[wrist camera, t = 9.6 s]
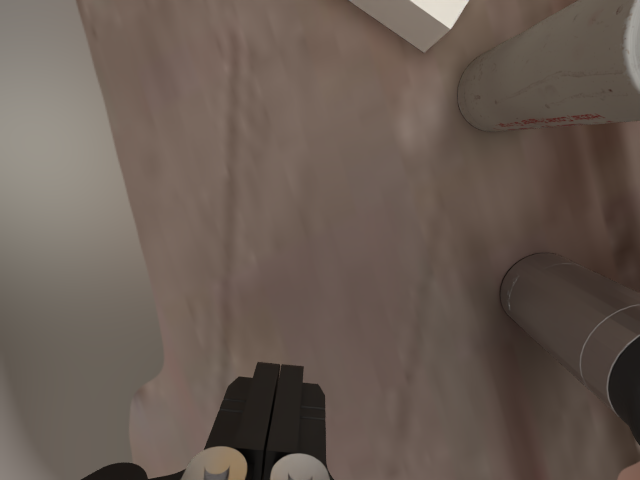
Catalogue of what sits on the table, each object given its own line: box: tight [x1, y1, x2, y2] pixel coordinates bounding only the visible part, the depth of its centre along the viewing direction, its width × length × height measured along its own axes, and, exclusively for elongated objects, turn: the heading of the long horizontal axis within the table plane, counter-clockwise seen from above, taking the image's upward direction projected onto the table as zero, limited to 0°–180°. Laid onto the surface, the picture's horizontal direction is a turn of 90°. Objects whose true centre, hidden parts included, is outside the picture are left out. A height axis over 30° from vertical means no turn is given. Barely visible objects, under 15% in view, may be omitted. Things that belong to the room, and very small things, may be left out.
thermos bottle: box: [457, 0, 640, 132], centre depth 25 cm, size 8×8×28 cm
